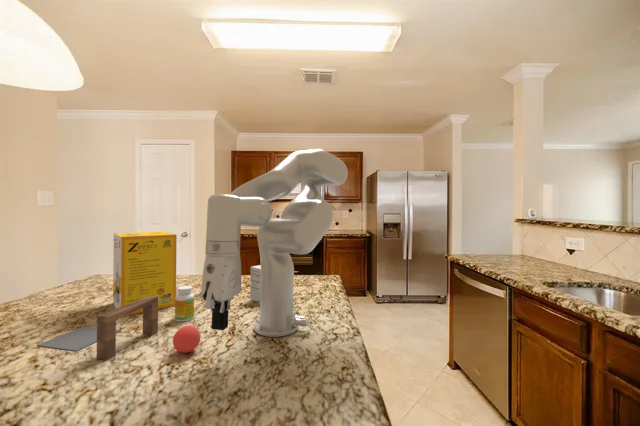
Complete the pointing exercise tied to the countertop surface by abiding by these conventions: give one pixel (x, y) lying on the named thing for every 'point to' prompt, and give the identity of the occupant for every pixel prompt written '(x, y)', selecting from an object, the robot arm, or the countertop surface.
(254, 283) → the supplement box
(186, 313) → the supplement bottle
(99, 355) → the bridge
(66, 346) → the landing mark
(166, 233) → the packaging box
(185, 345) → the ball
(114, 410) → the countertop surface
